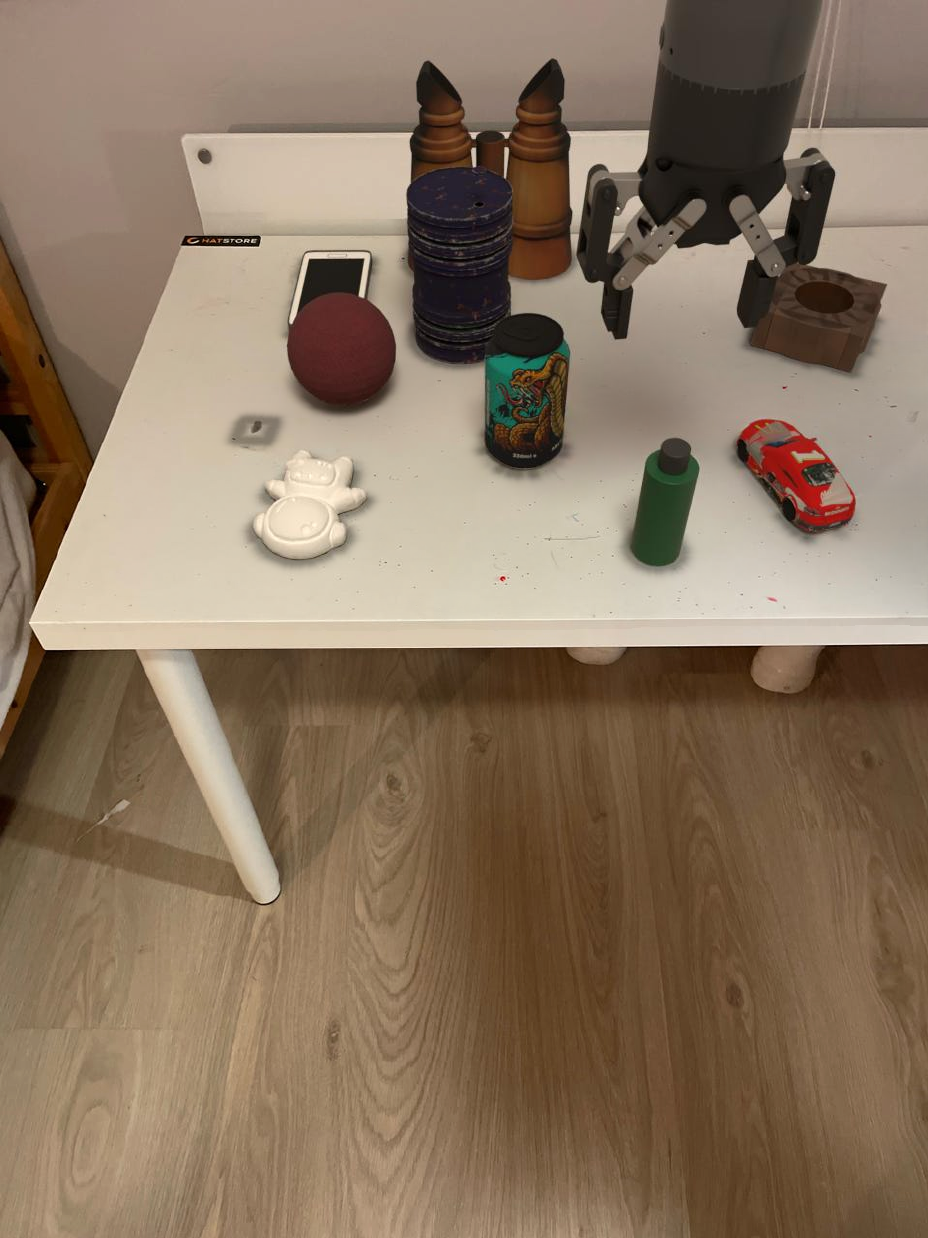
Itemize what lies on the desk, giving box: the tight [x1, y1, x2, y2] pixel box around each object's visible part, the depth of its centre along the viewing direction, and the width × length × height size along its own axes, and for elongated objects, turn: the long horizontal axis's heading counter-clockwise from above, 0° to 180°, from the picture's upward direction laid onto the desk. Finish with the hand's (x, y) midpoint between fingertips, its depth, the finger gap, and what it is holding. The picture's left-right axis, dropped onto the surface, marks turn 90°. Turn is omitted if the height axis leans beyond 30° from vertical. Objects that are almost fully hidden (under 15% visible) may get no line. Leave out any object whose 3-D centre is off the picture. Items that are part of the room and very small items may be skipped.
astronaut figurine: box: [252, 449, 367, 560], centre depth 79 cm, size 9×12×3 cm
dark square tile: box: [250, 419, 262, 433], centre depth 86 cm, size 3×3×1 cm
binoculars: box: [406, 57, 574, 280], centre depth 96 cm, size 18×8×20 cm, turn 90°
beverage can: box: [484, 312, 571, 470], centre depth 80 cm, size 7×7×12 cm
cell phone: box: [287, 249, 373, 331], centre depth 100 cm, size 8×15×1 cm, turn 179°
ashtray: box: [750, 263, 888, 373], centre depth 93 cm, size 11×11×4 cm
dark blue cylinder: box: [405, 166, 513, 365], centre depth 88 cm, size 10×10×18 cm
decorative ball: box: [286, 292, 397, 406], centre depth 86 cm, size 10×10×10 cm
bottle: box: [630, 437, 701, 567], centre depth 72 cm, size 4×4×11 cm
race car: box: [736, 418, 857, 533], centre depth 79 cm, size 13×5×4 cm, turn 17°
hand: (682, 326), depth 60 cm, fingers open, 8 cm apart
